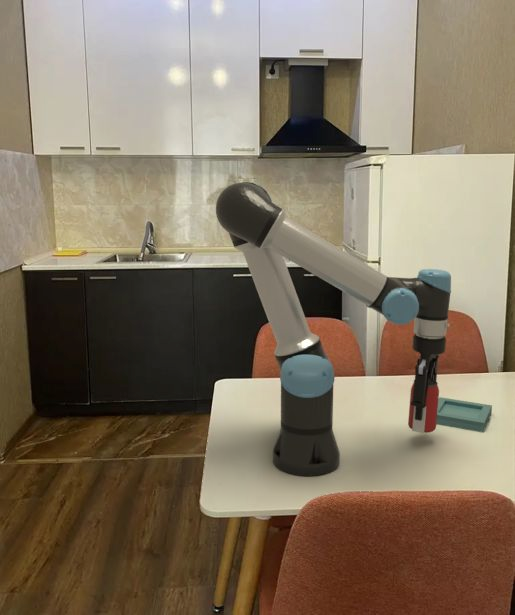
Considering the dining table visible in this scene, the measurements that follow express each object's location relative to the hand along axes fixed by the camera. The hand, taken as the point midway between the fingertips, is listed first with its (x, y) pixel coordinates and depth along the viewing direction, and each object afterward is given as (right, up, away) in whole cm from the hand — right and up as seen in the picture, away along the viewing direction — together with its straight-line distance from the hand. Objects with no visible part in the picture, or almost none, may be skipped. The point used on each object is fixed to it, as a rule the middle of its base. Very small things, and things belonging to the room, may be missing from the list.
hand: (421, 426), depth 148 cm
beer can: (0, -1, 0) cm, 1 cm away
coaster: (+14, -1, +15) cm, 21 cm away
